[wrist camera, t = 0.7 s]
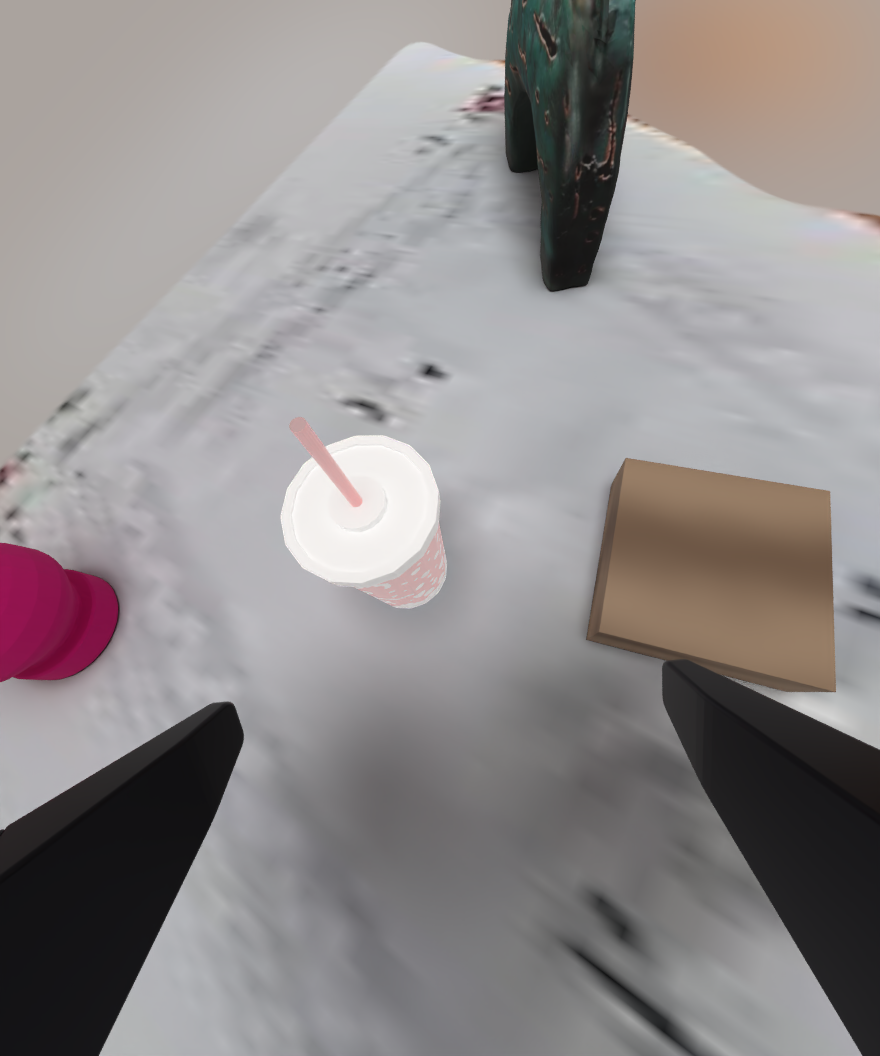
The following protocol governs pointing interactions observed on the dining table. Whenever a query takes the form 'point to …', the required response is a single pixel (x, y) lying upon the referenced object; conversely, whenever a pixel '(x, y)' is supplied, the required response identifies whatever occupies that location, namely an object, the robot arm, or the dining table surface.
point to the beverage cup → (366, 517)
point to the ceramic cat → (569, 119)
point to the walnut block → (718, 575)
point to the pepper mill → (50, 616)
